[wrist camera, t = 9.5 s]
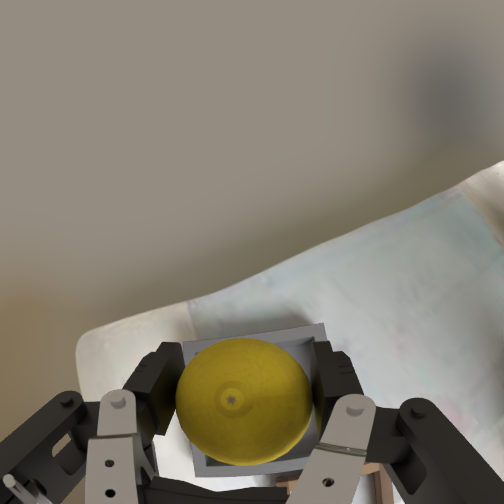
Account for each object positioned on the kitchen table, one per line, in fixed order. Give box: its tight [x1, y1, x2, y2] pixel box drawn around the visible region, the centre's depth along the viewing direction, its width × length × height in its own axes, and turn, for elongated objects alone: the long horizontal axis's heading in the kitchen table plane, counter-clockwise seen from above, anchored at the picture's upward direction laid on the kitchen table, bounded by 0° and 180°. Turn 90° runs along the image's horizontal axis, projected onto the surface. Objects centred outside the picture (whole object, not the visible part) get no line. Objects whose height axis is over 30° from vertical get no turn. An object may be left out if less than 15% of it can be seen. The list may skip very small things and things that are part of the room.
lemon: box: [175, 338, 313, 465], centre depth 11 cm, size 6×6×8 cm
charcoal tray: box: [183, 323, 327, 477], centre depth 22 cm, size 12×12×3 cm
